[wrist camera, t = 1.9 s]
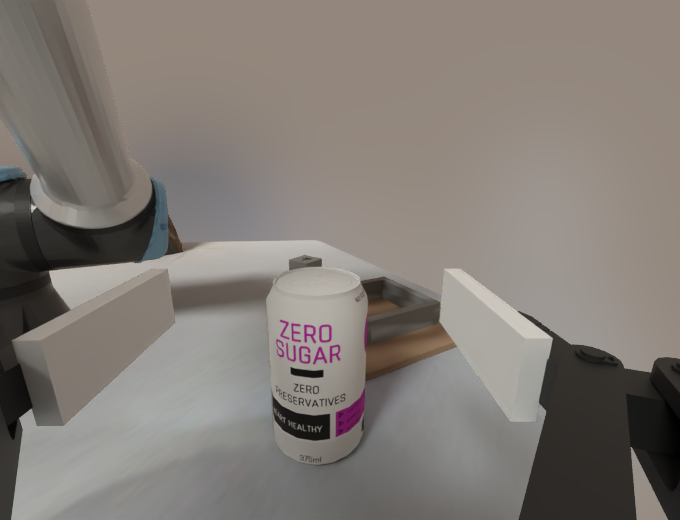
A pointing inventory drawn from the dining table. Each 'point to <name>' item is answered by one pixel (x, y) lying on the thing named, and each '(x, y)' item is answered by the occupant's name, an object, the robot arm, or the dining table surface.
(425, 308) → the collar board
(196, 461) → the dining table surface
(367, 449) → the dining table surface
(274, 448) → the dining table surface
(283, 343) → the supplement can
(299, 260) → the dice cube
